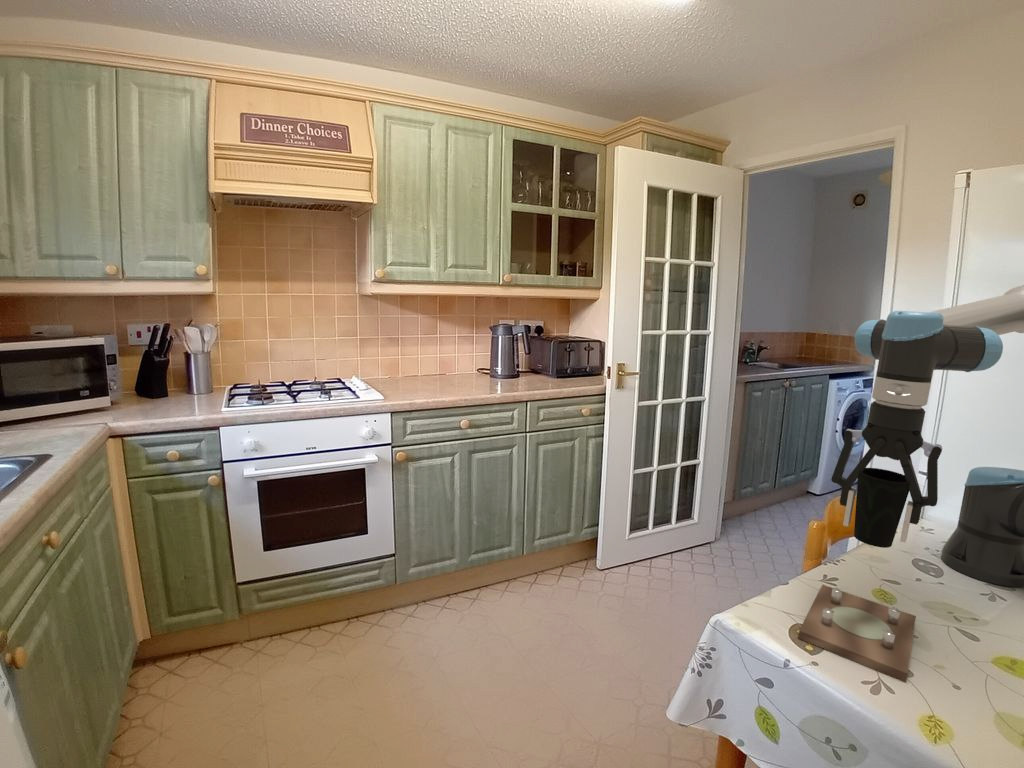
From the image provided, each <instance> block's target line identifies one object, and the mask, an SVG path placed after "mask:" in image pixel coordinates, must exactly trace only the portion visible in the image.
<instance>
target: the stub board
mask: <svg viewBox="0 0 1024 768" xmlns="http://www.w3.org/2000/svg"><path fill="white" fill-rule="evenodd" d="M916 616H917V615H914V614H910V613H908V612H905V611H902V610H899V609H898V608H896V607H892V606H887V605H885V604H882V603H878V602H875V601H872V600H869V599H866V598H863V597H862V596H858V595H854V594H852V593H849V592H846V591H843V590H841V588H837V587H831V586H828V585H825V584H822V585H821V587H820V588H819V591H818V593H817V594H816V597H815V598H814V600H813V603H812V605H811V606H810V608H809V610H808V613H807V615H806V616H805V618H804V620H803V623H802V625H801V626H800V628H799V631H798V636H797V639H798V638H799V640H800V641H804V642H805V643H808V644H810V643H811V645H813V644H814V645H813V646H815V645H816V647H818V646H819V647H818V648H820V647H821V648H820V649H823V648H824V649H823V650H825V649H826V651H828V650H829V651H828V652H830V651H831V653H833V654H836V655H838V656H840V657H842V656H843V657H842V658H845V657H846V658H845V659H847V658H848V660H850V661H851V662H855V663H858V664H860V665H862V666H865V667H868V668H870V669H873V670H875V671H878V672H879V673H882V674H885V675H887V676H890V677H891V678H894V677H895V679H897V680H899V679H900V680H899V681H902V680H903V681H902V682H904V681H905V682H904V683H907V677H908V672H909V665H910V660H911V653H912V646H913V645H912V644H913V640H914V639H913V638H914V631H915V626H916V618H917V617H916Z"/></svg>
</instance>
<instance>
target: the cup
mask: <svg viewBox="0 0 1024 768" xmlns="http://www.w3.org/2000/svg"><path fill="white" fill-rule="evenodd" d="M856 481H857V484H856V496H855V498H856V499H855V512H854V513H855V514H854V529H853V537H854V538H855V539H856V540H857V541H859V542H861V543H863V544H866V545H869V546H873V547H876V548H877V547H878V548H882V549H883V548H886V549H887V548H890V547H892V546H893V542H894V540H895V536H896V534H897V532H898V531H897V530H898V528H899V527H898V526H899V524H900V521H901V518H902V514H903V511H904V509H905V505H906V502H907V500H908V496H909V494H910V491H909V485H910V482H906V478H905V475H904V474H903V473H899V472H896V471H892V470H888V469H883V468H877V467H866V468H865V469H864V470H863V471H862V472H861V471H859V476H858V478H857V480H856Z"/></svg>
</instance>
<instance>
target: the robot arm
mask: <svg viewBox="0 0 1024 768" xmlns="http://www.w3.org/2000/svg"><path fill="white" fill-rule="evenodd" d="M1014 332H1015V333H1018V334H1024V285H1020V286H1016V287H1013V288H1010V289H1009V290H1007V291H1006V292H1004V294H1003V295H999V296H995V297H991V298H986V299H981V300H976V301H973V302H968V303H964V304H960V305H956V306H951V307H947V308H942V309H938V310H934V311H929V312H926V311H908V310H907V311H906V310H893V311H891V312H890V313H888V315H887V317H886V320H885V319H870V320H866V321H865V322H863V323H862V324H860V326H859V327H858V328H857V330H856V331H855V334H854V346H855V349H856V351H857V352H858V353H859V354H860V355H862V356H863V357H868V358H872V359H874V360H878V364H877V367H876V368H877V369H876V375H875V378H874V384H873V388H872V389H873V390H872V395H871V398H872V399H873V400H874V401H872V402H871V403H870V406H869V410H868V418H867V423H866V425H865V427H864V428H863V429H862V430H861V429H860V430H858V429H853V428H847V429H846V430H845V431H844V432H843V441H844V442H843V447H842V449H841V452H840V453H839V457H838V460H837V463H836V465H835V468H834V471H833V473H832V475H831V478H830V479H831V483H833V484H837V485H838V486H840V488H841V493H840V498H839V504H840V506H844V507H845V510H844V511H845V512H844V517H843V523H842V526H843V527H844V526H845V527H849V525H850V524H851V520H852V516H853V510H854V504H855V500H856V499H855V498H856V495H857V487H853V485H854V483H855V482H856V481H857V480H858V476H859V471H861V472H862V471H863V470H864V469H865V468H867V467H868V465H869V464H870V462H871V461H872V460H873V459H874V457H875V456H876V457H879V458H889V459H891V460H894V461H899V463H900V467H901V468H902V470H903V471H902V472H903V473H904V474H903V475H905V478H906V482H910V485H909V494H910V497H911V500H908V501H907V504H906V507H905V508H906V509H905V514H904V519H903V523H902V529H901V533H900V534H901V535H900V539H899V542H901V543H903V544H906V541H907V539H908V535H909V528H910V524H912V525H918V524H919V522H920V519H921V513H922V508H924V507H927V506H928V507H935V506H937V504H938V500H939V499H938V498H939V497H938V494H939V493H938V492H939V490H938V489H939V487H938V477H939V476H938V473H939V472H938V471H939V470H938V466H939V465H938V464H939V461H938V460H939V457H940V456H941V454H942V452H943V446H942V445H941V444H938V443H936V444H933V443H930V442H927V441H924V438H923V436H922V430H923V426H924V421H925V417H926V416H925V415H926V410H925V408H923V407H925V406H927V405H928V401H929V395H930V391H931V385H932V379H933V376H934V375H933V374H934V371H952V372H953V371H958V372H964V373H971V372H980V371H981V372H982V371H985V370H988V369H990V368H992V367H994V366H995V365H997V363H998V362H999V361H1000V359H1001V358H1002V355H1003V350H1004V344H1003V343H1004V342H1003V341H1002V339H1001V337H1000V336H1001V335H1006V334H1010V333H1014ZM860 438H863V440H864V441H865V443H866V445H867V446H868V448H869V449H868V450H867V452H866V453H865V454H864V455H863V457H862V458H861V459H860V461H859V462H858V463H857V464H856V466H855V467H854V469H853V470H852V471H851V472H850V474H849V475H848V477H847V478H845V477H843V476H844V475H843V474H844V472H845V469H846V467H847V464H848V461H849V458H850V456H851V453H852V451H853V448H854V445H855V443H858V441H860ZM920 448H921V449H922V450H923V455H924V456H925V457H927V464H926V465H927V466H926V467H927V469H926V470H927V472H926V473H927V475H926V476H927V477H926V478H927V481H926V482H927V493H926V494H927V496H923V494H922V492H921V488H920V484H919V480H918V477H917V475H916V471H915V467H914V465H913V460H912V457H911V455H912V454H913V453H915V452H916V451H917V450H919V449H920ZM963 485H964V489H963V496H962V500H961V506H960V511H959V515H958V522H957V527H956V528H955V530H954V531H953V532H952V534H951V535H950V537H949V538H948V539H947V541H946V542H945V543H944V545H943V546H942V550H941V553H940V559H941V560H942V562H943V563H944V564H946V565H947V566H948V567H950V568H951V569H953V570H955V571H957V572H959V573H961V574H964V575H966V576H969V577H970V578H974V579H977V580H979V581H983V582H985V583H990V584H994V585H998V586H1003V587H1004V586H1005V587H1012V588H1013V587H1014V588H1022V587H1023V588H1024V470H1023V469H1016V468H1006V467H995V466H977V467H974V468H972V469H970V470H969V472H968V474H967V477H966V482H965V483H964V484H963Z"/></svg>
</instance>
